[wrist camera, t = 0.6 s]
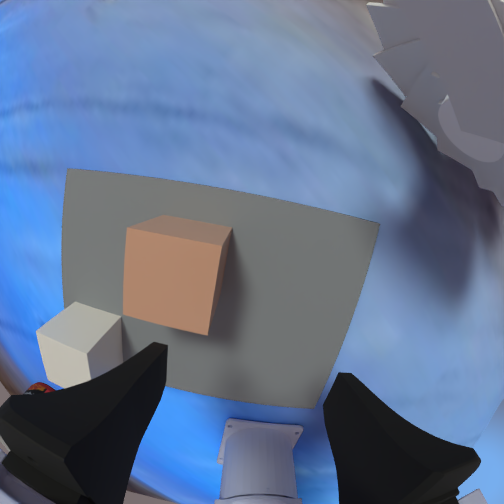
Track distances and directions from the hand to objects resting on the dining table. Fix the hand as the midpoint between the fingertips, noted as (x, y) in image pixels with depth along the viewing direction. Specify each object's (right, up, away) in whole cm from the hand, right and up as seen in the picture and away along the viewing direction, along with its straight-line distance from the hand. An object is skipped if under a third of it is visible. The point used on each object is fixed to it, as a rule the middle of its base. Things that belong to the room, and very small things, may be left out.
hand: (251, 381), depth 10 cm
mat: (-5, +1, +10) cm, 11 cm away
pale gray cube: (-14, -2, +11) cm, 18 cm away
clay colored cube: (-4, +5, +9) cm, 11 cm away
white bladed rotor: (+19, +23, +5) cm, 30 cm away
